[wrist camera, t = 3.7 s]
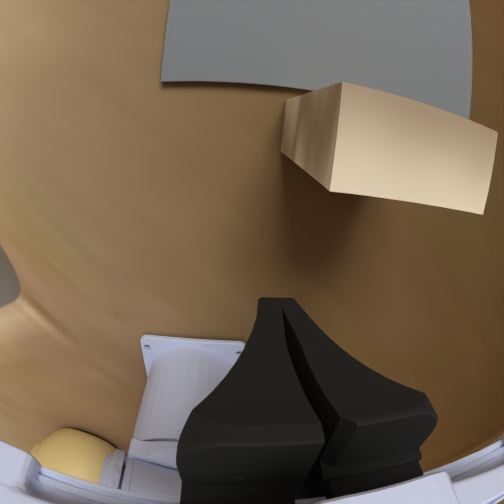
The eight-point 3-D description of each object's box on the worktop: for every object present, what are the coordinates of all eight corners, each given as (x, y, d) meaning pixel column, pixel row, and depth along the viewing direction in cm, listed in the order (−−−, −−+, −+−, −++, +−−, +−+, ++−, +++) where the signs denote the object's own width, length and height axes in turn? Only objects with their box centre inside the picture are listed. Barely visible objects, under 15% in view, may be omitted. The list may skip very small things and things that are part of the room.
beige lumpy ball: (33, 413, 28) (6, 476, 18) (101, 418, 27) (78, 499, 17) (80, 459, 32) (64, 516, 23) (147, 465, 32) (137, 532, 22)
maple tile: (374, 164, 18) (482, 215, 8) (280, 152, 17) (329, 192, 8) (381, 117, 16) (497, 132, 7) (285, 100, 16) (342, 81, 7)
